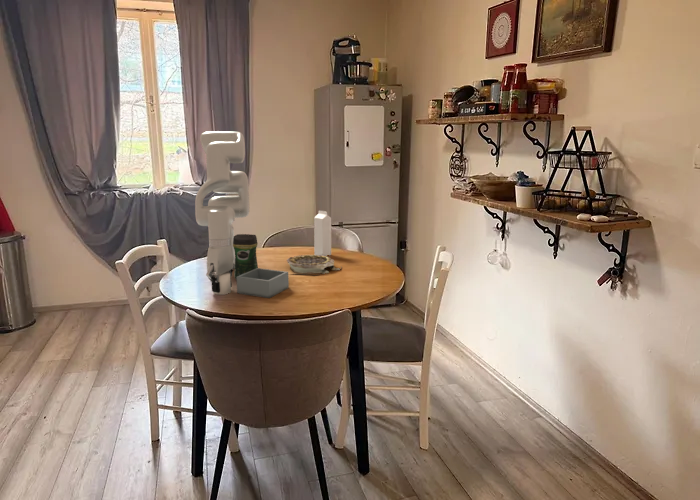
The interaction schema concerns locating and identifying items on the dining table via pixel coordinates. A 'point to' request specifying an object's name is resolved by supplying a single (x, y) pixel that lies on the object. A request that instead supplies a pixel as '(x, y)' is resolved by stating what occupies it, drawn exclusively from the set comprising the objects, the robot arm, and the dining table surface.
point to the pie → (311, 264)
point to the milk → (322, 234)
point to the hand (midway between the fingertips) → (222, 289)
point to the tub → (262, 282)
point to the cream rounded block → (224, 283)
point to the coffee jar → (245, 253)
